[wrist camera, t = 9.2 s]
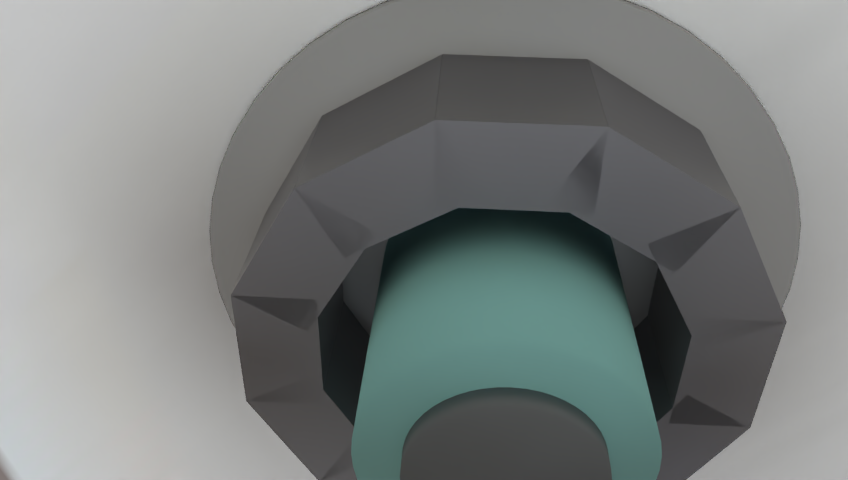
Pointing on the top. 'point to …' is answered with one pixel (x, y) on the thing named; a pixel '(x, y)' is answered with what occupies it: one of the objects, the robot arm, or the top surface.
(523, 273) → the teal capped cylinder
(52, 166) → the top surface
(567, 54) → the ring
